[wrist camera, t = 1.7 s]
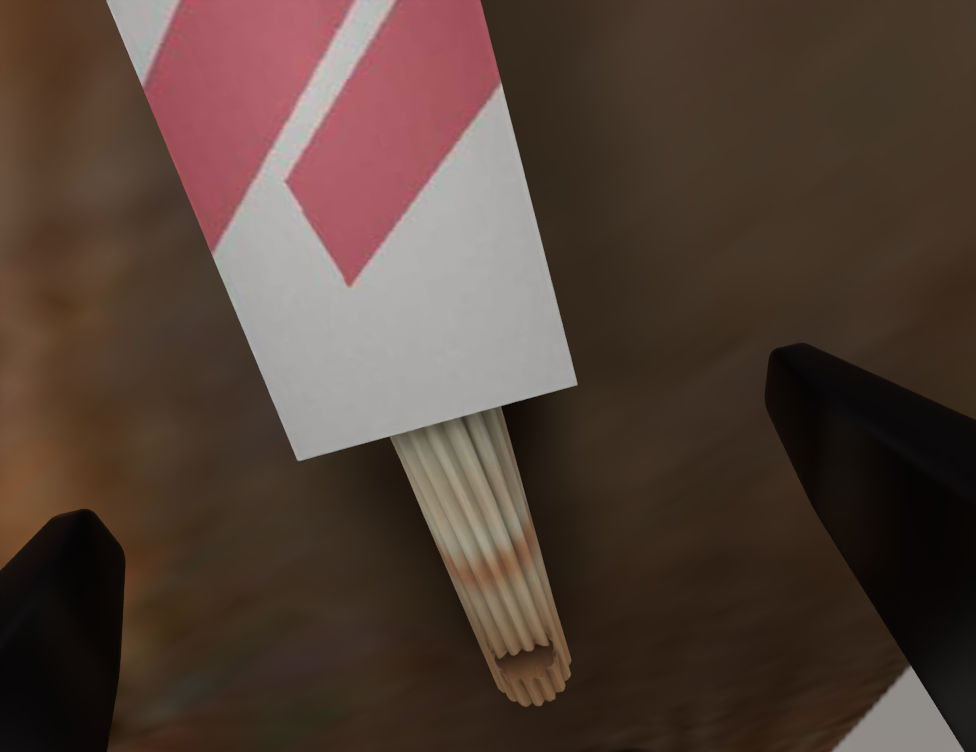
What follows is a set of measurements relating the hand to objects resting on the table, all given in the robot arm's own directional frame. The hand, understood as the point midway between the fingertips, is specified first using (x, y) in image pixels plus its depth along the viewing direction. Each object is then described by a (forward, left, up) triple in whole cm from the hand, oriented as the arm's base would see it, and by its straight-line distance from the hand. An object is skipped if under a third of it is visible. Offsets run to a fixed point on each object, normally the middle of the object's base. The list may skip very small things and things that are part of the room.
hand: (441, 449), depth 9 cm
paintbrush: (0, 0, -3) cm, 3 cm away
